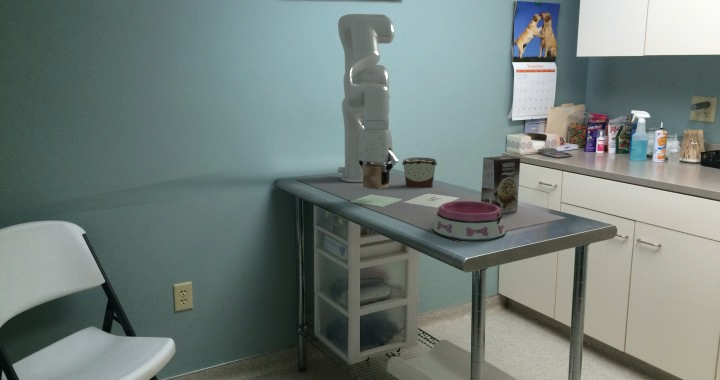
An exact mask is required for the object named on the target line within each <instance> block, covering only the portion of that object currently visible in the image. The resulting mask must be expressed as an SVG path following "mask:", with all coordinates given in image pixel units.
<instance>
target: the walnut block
mask: <svg viewBox="0 0 720 380" xmlns="http://www.w3.org/2000/svg"><path fill="white" fill-rule="evenodd" d="M382 172H383V169H382V165H381V163H371V164H366V165H363V182H362V188H367V189H374V190H381V189H385V188H389V187H390V182H389V183H388V184H385V185H382Z"/></svg>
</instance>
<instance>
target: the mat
mask: <svg viewBox="0 0 720 380" xmlns="http://www.w3.org/2000/svg"><path fill="white" fill-rule="evenodd" d="M402 200H403V199H402V198H397V197H390V196H386V195H385V196H384V195H383V196H382V195H379V194H378V195H377V194H368V195H365V196H363V197H358V198H356V199H352V200H350V201H349V203H353V204H354V203H355V204H359V205H366V206H372V207H373V206H374V207H378V208H383V207H386V206H389V205H391V204H395V203H397V202H400V201H402Z"/></svg>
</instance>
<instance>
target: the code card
mask: <svg viewBox="0 0 720 380" xmlns="http://www.w3.org/2000/svg"><path fill="white" fill-rule="evenodd" d="M459 199H460V197H457V196H456V197H455V196H449V195H441V194H433V193H429V192H428V193H426V194H425V193H424V194H422V195H419V196H416V197H413V198H411V199H408V200H406V201H402V204H403V203H405V204H411V205H418V206H424V207H429V208H431V207H432V208H435V209H437V208H440V206H441V205H442V204H444V203H448V202H454V201H458V200H459Z"/></svg>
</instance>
